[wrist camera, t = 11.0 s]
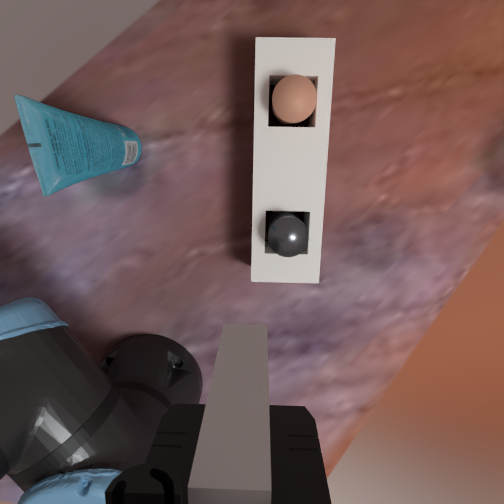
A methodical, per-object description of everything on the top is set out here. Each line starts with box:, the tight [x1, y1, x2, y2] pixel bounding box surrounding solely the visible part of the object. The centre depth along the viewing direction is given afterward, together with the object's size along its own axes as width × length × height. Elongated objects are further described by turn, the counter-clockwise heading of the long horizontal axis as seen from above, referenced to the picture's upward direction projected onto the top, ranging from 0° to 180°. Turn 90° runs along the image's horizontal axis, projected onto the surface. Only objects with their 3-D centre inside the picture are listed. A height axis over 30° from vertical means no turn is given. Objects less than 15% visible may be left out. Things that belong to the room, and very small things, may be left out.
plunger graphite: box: [268, 211, 309, 257], centre depth 44 cm, size 4×4×7 cm
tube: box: [14, 95, 142, 196], centre depth 38 cm, size 7×5×19 cm, turn 13°
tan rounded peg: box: [272, 74, 317, 125], centre depth 41 cm, size 4×4×7 cm
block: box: [251, 37, 336, 283], centre depth 44 cm, size 8×26×6 cm, turn 179°
